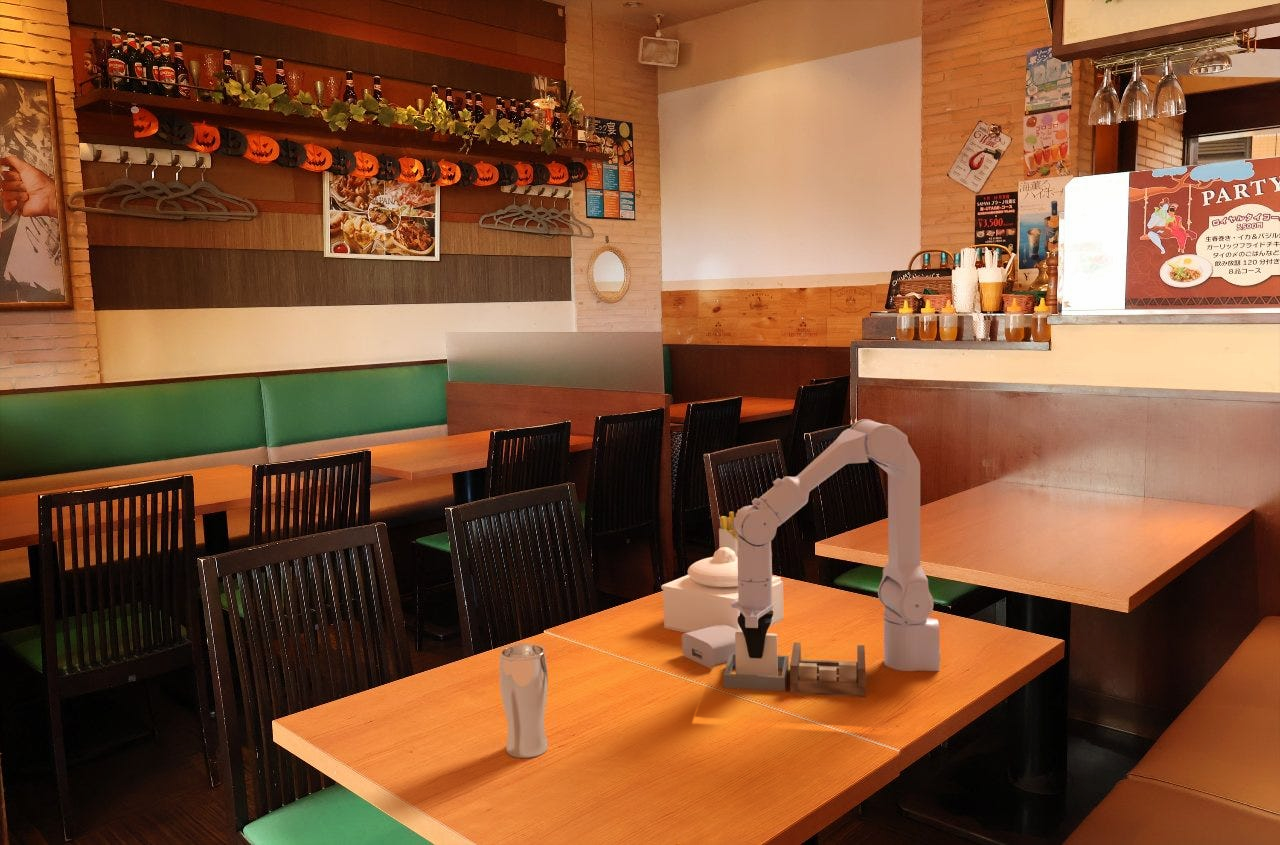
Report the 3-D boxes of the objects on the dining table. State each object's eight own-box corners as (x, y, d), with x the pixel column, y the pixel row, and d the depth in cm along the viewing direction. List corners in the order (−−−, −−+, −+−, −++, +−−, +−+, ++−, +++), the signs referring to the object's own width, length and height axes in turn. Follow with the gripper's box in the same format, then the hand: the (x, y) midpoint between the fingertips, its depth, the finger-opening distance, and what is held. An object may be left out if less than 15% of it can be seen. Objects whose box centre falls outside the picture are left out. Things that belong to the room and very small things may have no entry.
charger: (776, 652, 180) (713, 671, 172) (744, 639, 188) (682, 656, 180) (776, 627, 180) (712, 645, 171) (744, 615, 187) (681, 631, 179)
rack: (864, 674, 168) (864, 644, 167) (865, 701, 156) (865, 670, 155) (794, 670, 170) (793, 641, 170) (790, 697, 159) (789, 666, 158)
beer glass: (552, 737, 147) (547, 641, 145) (549, 758, 140) (544, 658, 138) (505, 739, 146) (501, 643, 145) (501, 761, 140) (495, 660, 138)
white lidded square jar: (738, 645, 185) (736, 563, 183) (662, 628, 196) (659, 551, 194) (784, 620, 198) (783, 544, 196) (710, 605, 209) (708, 533, 207)
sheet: (777, 678, 165) (777, 633, 164) (777, 681, 164) (776, 635, 163) (736, 676, 167) (735, 631, 166) (736, 679, 166) (735, 634, 165)
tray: (788, 672, 170) (788, 655, 169) (785, 695, 160) (784, 677, 159) (730, 669, 172) (730, 653, 171) (723, 692, 162) (722, 674, 161)
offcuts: (856, 688, 159) (856, 662, 159) (856, 692, 158) (856, 665, 157) (799, 685, 161) (799, 659, 161) (799, 689, 160) (799, 663, 159)
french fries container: (766, 586, 222) (764, 508, 220) (736, 597, 214) (734, 517, 212) (750, 582, 225) (748, 506, 223) (720, 593, 218) (718, 514, 215)
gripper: (736, 565, 171) (737, 640, 173) (725, 589, 157) (727, 670, 159) (776, 566, 170) (777, 641, 171) (769, 590, 156) (771, 672, 157)
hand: (756, 655), depth 165 cm, fingers closed on sheet, 1 cm apart
